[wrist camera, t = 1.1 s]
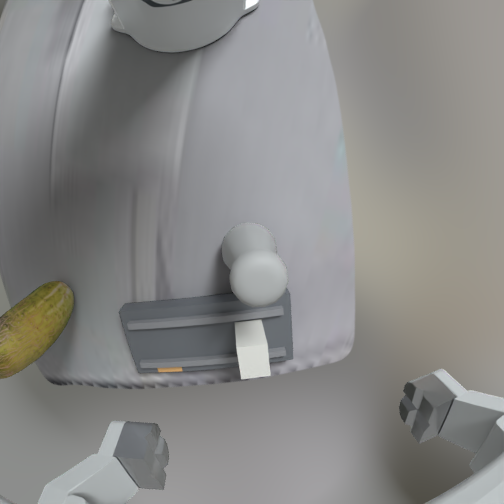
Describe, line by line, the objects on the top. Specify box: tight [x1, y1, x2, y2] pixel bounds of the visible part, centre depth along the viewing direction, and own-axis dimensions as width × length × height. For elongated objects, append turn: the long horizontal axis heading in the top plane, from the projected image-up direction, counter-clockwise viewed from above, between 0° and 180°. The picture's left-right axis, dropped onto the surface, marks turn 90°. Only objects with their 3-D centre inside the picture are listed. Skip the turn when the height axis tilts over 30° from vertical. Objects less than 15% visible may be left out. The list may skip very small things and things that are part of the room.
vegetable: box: [0, 281, 74, 379], centre depth 22 cm, size 6×6×20 cm
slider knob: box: [235, 319, 270, 379], centre depth 29 cm, size 4×3×5 cm
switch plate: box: [119, 288, 293, 373], centre depth 33 cm, size 9×20×3 cm, turn 96°
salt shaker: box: [221, 223, 288, 307], centre depth 26 cm, size 6×6×13 cm
